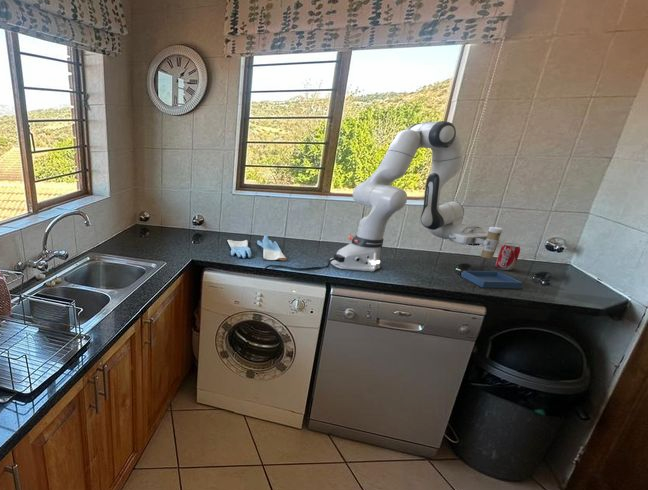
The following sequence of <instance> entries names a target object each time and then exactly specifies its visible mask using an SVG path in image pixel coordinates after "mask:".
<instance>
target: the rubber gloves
mask: <svg viewBox="0 0 648 490" xmlns="http://www.w3.org/2000/svg"><path fill="white" fill-rule="evenodd" d="M227 244H228V245H229V247H230V249H231V250H230V255H231V257H235V254H236V256H237V258H239V259H240V258H241V257H242V259H246V257H248V258H249V259H250V258H252V250H251V248H250V247H249V241H248V239H245V240H233V239H227ZM256 244H257V245H258V246H260V247H261V248H262V250H263V254H262V257H263V260H264V261H276V260H278V261H287V260H288V258H287V257H286V255H285V254H284V253H283V252H282V249H281V248H280V246H279V244H278V242H276V240H274V241H272V240H271V239H269V236H268V235H267V234H264V235H263V238H262V240H257V241H256Z"/></svg>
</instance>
